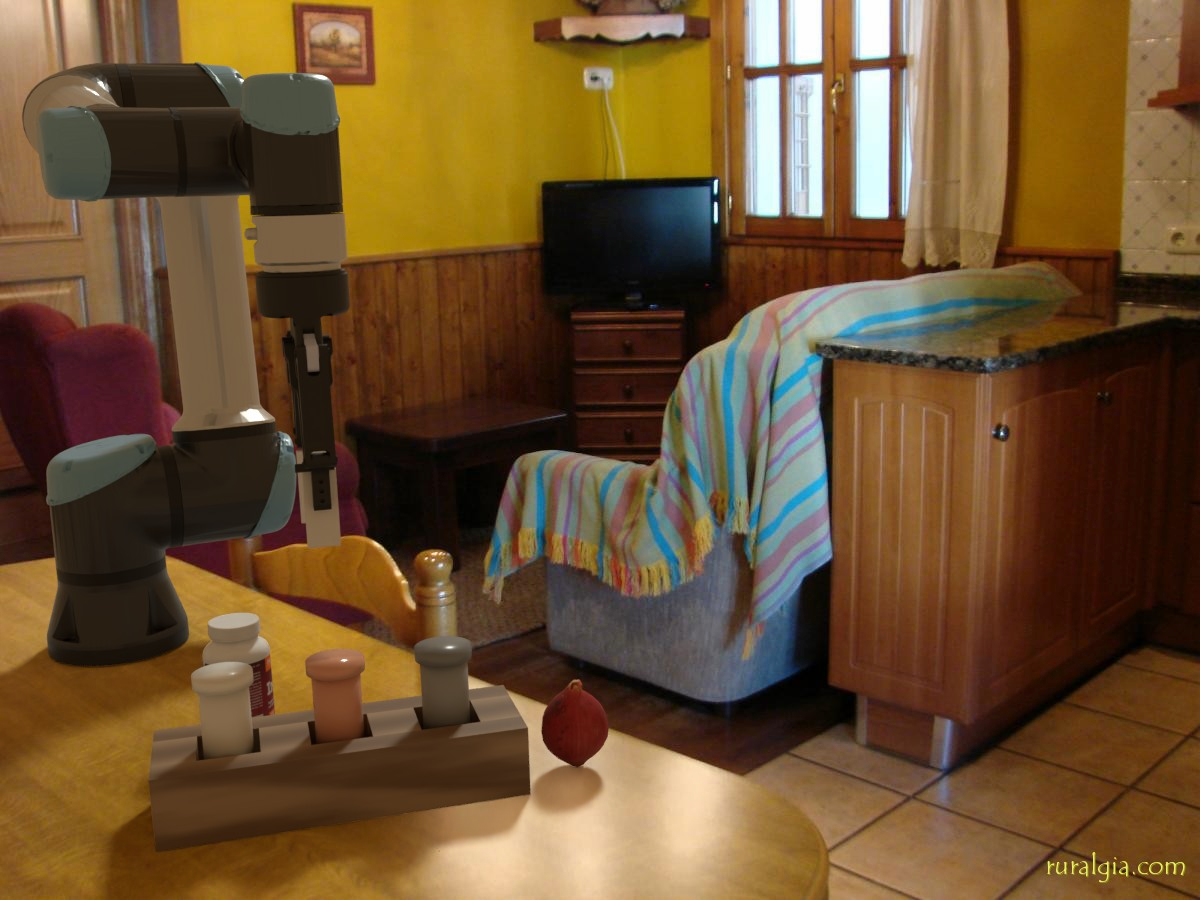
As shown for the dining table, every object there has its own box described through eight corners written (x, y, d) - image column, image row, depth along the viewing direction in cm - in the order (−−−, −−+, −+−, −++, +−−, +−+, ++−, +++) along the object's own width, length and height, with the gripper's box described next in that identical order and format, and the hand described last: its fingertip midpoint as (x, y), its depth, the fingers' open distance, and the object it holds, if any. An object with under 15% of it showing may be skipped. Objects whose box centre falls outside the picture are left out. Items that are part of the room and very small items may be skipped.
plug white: (200, 756, 110) (191, 666, 108) (259, 748, 111) (251, 658, 110) (199, 781, 105) (190, 686, 104) (261, 772, 107) (253, 679, 105)
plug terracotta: (310, 741, 112) (303, 652, 111) (367, 733, 114) (361, 645, 112) (314, 764, 108) (307, 672, 106) (373, 756, 109) (367, 665, 107)
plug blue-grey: (415, 727, 115) (410, 639, 113) (470, 719, 116) (465, 633, 114) (423, 749, 110) (418, 658, 109) (480, 741, 111) (476, 651, 110)
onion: (560, 786, 112) (557, 698, 110) (532, 761, 117) (528, 676, 115) (620, 771, 115) (618, 684, 113) (590, 747, 120) (587, 663, 118)
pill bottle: (286, 733, 125) (277, 622, 122) (221, 750, 121) (211, 636, 119) (263, 712, 130) (254, 605, 127) (200, 728, 126) (190, 618, 124)
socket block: (160, 796, 112) (154, 730, 111) (506, 746, 120) (503, 684, 119) (155, 852, 103) (148, 780, 102) (530, 794, 111) (528, 727, 110)
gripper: (251, 262, 118) (271, 509, 123) (258, 277, 98) (281, 570, 103) (336, 259, 120) (352, 501, 125) (359, 272, 100) (378, 560, 105)
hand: (320, 532), depth 114 cm, fingers open, 8 cm apart
